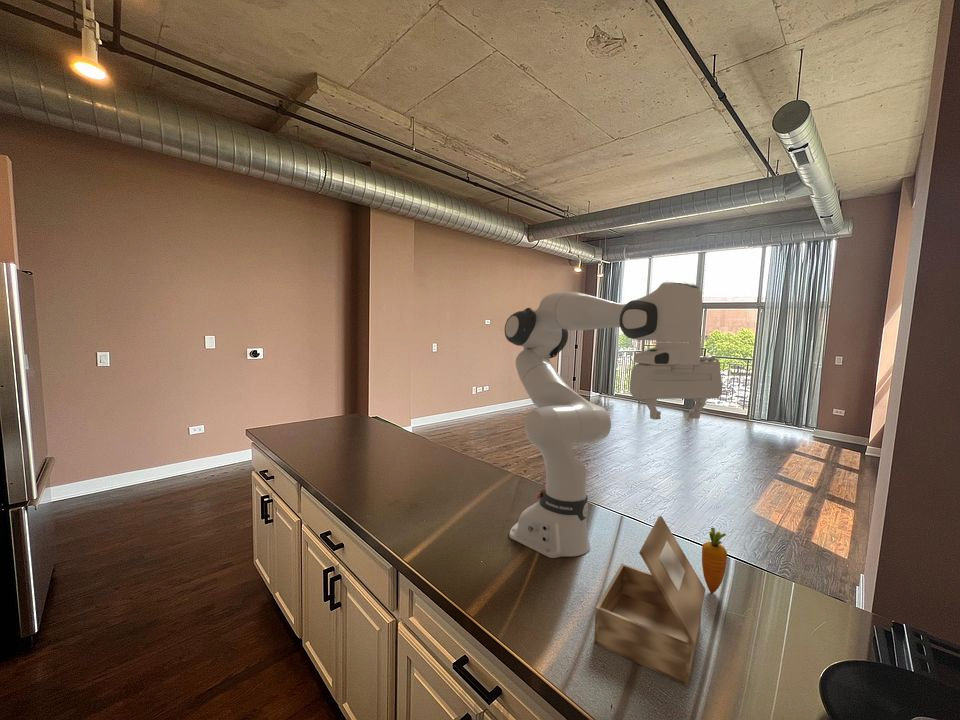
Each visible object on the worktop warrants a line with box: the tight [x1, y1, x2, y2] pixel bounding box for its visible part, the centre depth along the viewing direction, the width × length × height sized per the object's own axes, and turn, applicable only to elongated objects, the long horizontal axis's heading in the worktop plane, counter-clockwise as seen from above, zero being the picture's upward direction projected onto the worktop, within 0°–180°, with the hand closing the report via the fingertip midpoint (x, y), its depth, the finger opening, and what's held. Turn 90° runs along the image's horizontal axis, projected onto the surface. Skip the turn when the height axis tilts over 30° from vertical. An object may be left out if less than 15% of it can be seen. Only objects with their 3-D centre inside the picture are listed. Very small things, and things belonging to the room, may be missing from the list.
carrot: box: [701, 527, 728, 594], centre depth 91 cm, size 5×5×15 cm
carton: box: [593, 563, 702, 688], centre depth 78 cm, size 16×18×7 cm
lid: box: [638, 515, 706, 644], centre depth 75 cm, size 16×18×1 cm
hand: (674, 418), depth 88 cm, fingers open, 8 cm apart
